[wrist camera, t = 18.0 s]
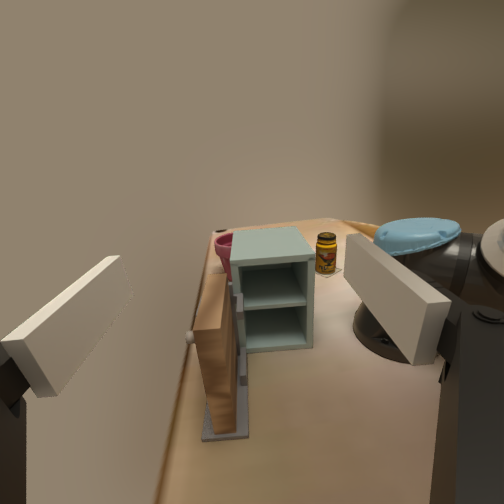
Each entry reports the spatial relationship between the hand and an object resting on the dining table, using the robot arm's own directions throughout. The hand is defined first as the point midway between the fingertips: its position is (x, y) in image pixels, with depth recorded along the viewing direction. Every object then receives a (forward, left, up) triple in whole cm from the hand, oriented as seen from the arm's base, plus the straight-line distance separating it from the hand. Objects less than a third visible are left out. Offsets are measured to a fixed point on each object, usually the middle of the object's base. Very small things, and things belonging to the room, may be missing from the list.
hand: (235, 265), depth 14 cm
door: (+5, -15, -29) cm, 33 cm away
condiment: (-23, -55, -30) cm, 67 cm away
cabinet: (-2, -23, -30) cm, 38 cm away
